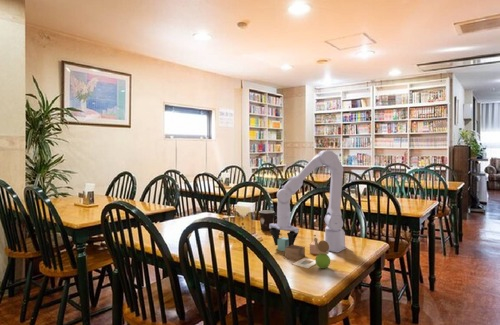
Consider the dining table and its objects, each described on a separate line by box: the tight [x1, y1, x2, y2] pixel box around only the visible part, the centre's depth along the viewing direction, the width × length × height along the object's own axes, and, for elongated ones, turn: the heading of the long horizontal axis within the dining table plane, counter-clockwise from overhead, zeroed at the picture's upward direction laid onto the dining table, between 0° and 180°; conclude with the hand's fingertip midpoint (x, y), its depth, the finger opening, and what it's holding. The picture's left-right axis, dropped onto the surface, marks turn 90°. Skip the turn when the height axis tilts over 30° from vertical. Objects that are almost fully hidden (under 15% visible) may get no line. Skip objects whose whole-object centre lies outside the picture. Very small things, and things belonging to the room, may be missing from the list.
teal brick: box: [277, 236, 289, 252], centre depth 151 cm, size 4×4×5 cm
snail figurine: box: [313, 234, 331, 269], centre depth 128 cm, size 5×6×12 cm
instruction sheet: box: [292, 257, 317, 269], centre depth 133 cm, size 9×7×1 cm
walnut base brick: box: [284, 244, 306, 261], centre depth 142 cm, size 6×6×4 cm
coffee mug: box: [258, 209, 277, 232], centre depth 187 cm, size 12×9×10 cm
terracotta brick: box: [309, 241, 320, 255], centre depth 147 cm, size 4×4×4 cm
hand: (283, 246), depth 151 cm, fingers open, 7 cm apart
